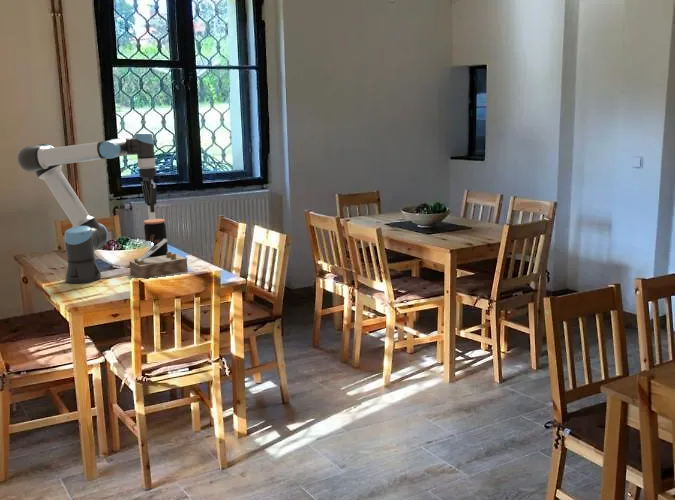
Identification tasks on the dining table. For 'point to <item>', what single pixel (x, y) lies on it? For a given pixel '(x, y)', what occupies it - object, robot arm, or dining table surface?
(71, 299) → the dining table surface
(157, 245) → the strap
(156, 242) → the coffee jar
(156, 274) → the walnut box
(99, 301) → the dining table surface
